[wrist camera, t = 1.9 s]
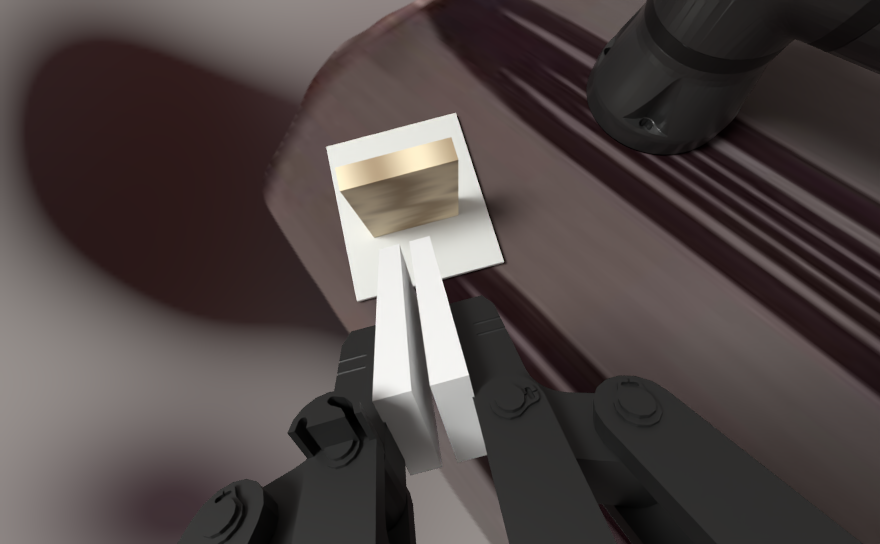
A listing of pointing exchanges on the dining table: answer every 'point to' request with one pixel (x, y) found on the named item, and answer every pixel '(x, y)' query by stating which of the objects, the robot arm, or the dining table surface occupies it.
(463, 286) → the dining table surface
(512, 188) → the dining table surface
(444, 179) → the birch slab
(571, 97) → the dining table surface
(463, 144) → the rubber mat
